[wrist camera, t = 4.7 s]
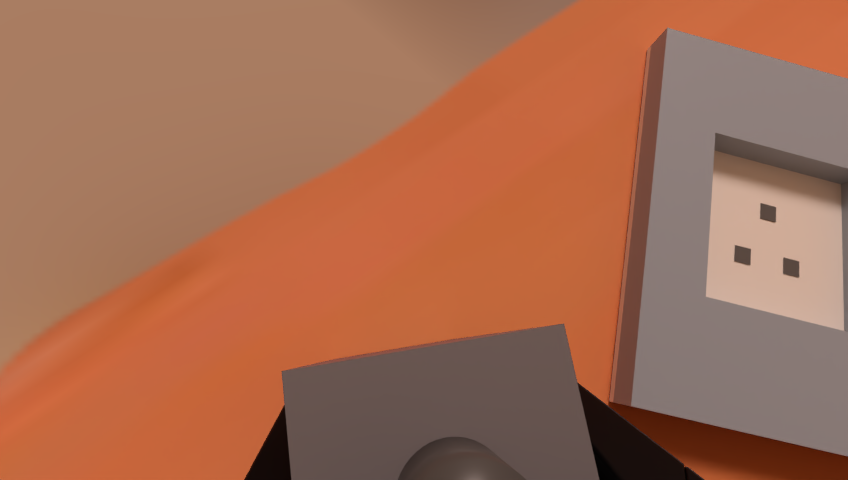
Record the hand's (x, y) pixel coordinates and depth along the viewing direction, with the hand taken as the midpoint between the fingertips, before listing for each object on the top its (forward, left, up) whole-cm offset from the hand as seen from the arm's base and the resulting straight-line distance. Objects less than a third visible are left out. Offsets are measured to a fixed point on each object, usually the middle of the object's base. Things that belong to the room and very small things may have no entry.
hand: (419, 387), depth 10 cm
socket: (+9, -14, -7) cm, 18 cm away
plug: (-1, -1, -7) cm, 7 cm away
